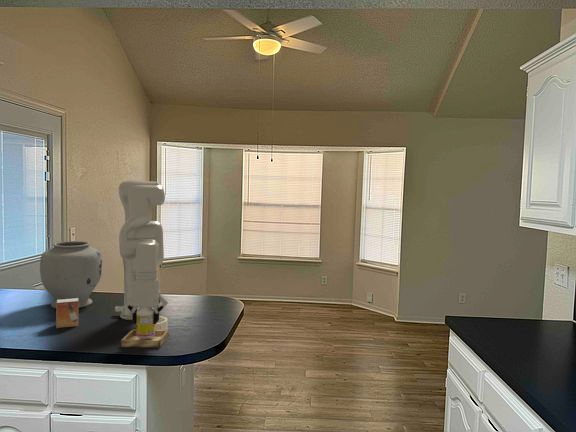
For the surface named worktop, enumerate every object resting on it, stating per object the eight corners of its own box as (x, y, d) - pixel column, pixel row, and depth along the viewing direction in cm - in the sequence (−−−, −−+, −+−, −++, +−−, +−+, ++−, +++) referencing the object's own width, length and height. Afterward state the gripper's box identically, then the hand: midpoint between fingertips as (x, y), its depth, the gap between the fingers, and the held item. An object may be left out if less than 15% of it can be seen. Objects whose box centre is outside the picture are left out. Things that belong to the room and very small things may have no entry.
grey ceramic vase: (113, 303, 207) (113, 242, 205) (59, 315, 185) (59, 248, 183) (81, 294, 221) (81, 238, 220) (28, 305, 199) (28, 242, 197)
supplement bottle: (139, 333, 160) (139, 300, 159) (156, 333, 160) (157, 300, 160) (134, 339, 153) (134, 304, 152) (152, 339, 154) (152, 304, 153)
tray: (120, 346, 151) (120, 340, 150) (132, 335, 163) (132, 329, 162) (160, 347, 151) (160, 340, 151) (168, 336, 163) (168, 330, 163)
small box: (56, 328, 168) (56, 302, 168) (56, 324, 173) (56, 299, 173) (78, 326, 172) (78, 300, 171) (78, 322, 177) (78, 297, 176)
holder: (134, 334, 164) (134, 324, 164) (143, 325, 175) (143, 315, 175) (163, 334, 164) (163, 324, 164) (170, 325, 175) (170, 316, 175)
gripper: (118, 277, 151) (118, 325, 153) (167, 278, 152) (166, 326, 153) (126, 273, 159) (125, 319, 160) (172, 274, 159) (171, 320, 161)
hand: (145, 322), depth 157 cm, fingers closed on supplement bottle, 6 cm apart
